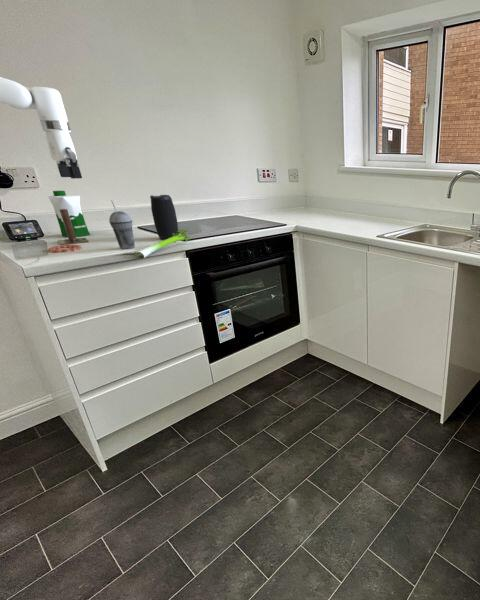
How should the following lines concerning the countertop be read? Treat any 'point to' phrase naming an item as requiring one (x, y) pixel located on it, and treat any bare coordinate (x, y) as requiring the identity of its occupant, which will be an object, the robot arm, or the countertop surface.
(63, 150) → the robot arm
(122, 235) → the beverage cup
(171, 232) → the portable speaker
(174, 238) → the leek
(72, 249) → the ring
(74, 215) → the milk carton
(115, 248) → the countertop surface
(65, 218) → the peg stand
